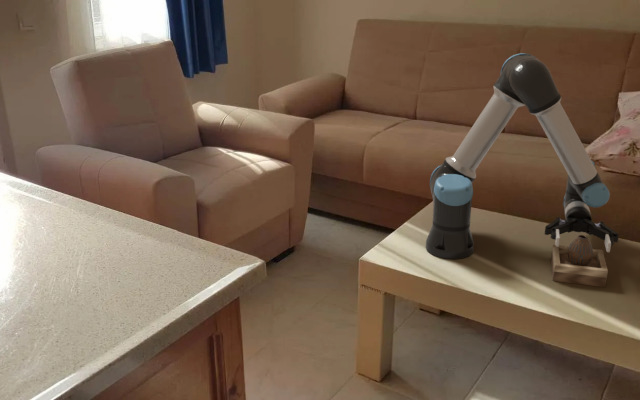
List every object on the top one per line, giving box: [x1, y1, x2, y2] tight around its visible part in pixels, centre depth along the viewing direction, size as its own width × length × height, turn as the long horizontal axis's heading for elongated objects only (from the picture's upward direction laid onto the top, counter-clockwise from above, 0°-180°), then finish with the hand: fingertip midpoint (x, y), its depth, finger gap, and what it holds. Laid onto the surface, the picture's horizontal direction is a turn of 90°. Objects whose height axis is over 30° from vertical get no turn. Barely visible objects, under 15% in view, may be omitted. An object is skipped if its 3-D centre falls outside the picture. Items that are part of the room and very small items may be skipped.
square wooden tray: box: [550, 244, 609, 288], centre depth 183 cm, size 14×14×5 cm
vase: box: [567, 234, 594, 266], centre depth 182 cm, size 7×7×9 cm
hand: (583, 245), depth 177 cm, fingers open, 13 cm apart
